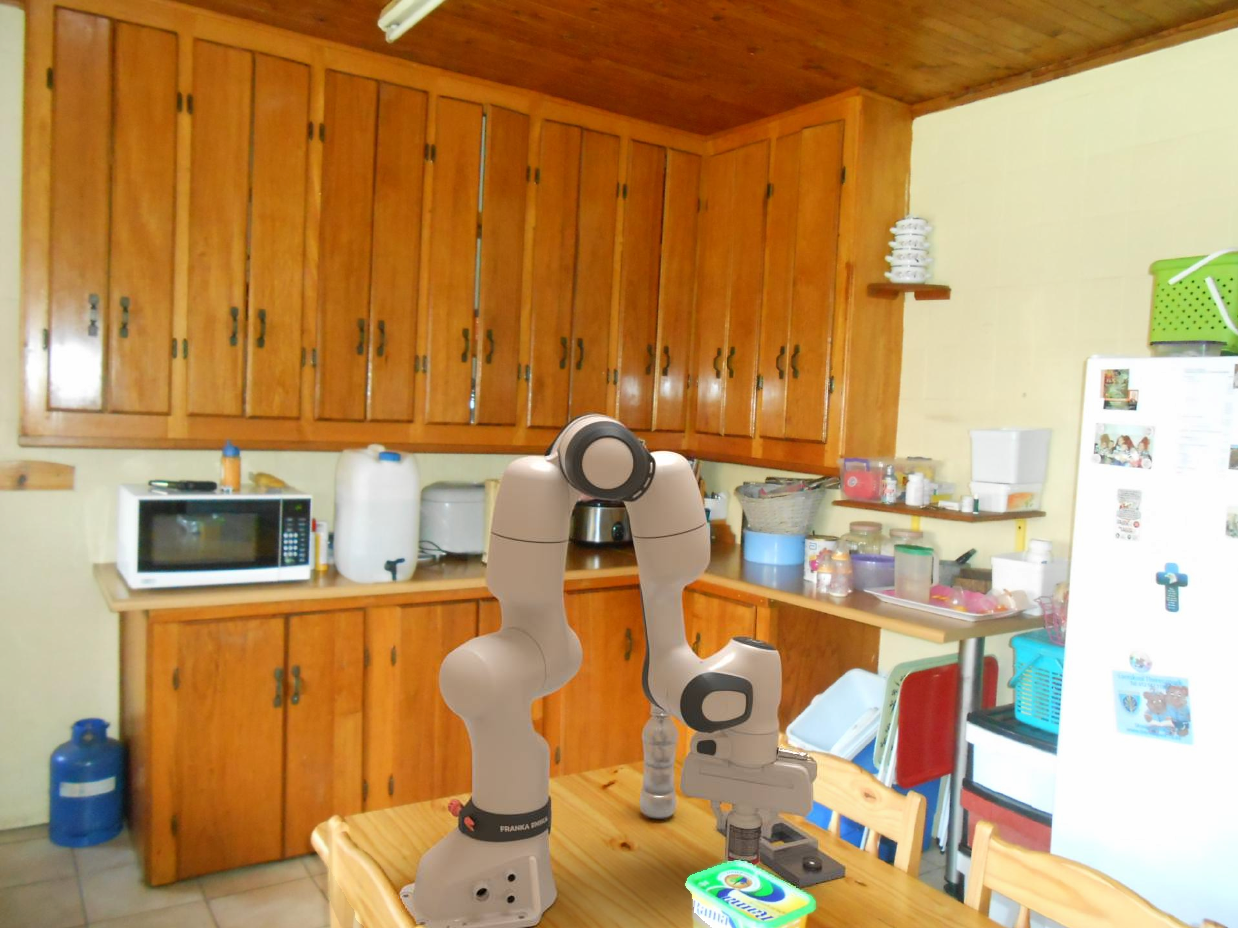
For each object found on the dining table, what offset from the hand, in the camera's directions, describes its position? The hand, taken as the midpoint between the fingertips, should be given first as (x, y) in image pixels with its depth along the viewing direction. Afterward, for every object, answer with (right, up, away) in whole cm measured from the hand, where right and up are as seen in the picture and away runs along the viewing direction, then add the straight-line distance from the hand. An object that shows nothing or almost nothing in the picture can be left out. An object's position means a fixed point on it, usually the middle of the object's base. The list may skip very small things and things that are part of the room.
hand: (743, 832), depth 144 cm
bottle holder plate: (+7, -7, +9) cm, 13 cm away
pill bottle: (0, -5, 0) cm, 5 cm away
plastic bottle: (-12, -6, +21) cm, 25 cm away
